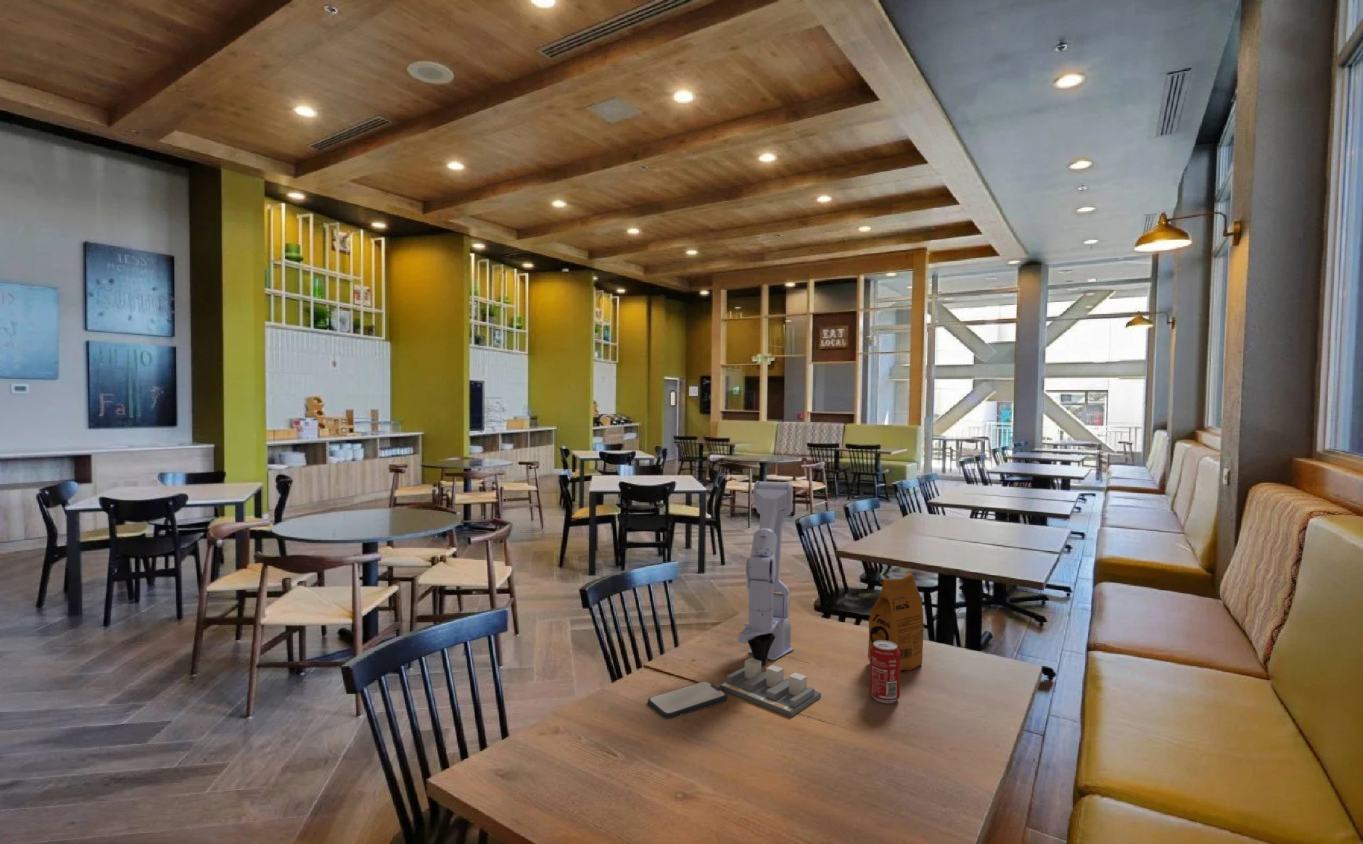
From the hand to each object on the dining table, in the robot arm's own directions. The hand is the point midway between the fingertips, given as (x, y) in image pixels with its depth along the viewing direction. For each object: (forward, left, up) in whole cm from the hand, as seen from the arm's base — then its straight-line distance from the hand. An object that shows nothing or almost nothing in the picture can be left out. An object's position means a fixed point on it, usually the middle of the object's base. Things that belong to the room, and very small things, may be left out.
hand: (760, 664), depth 152 cm
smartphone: (+20, -5, -4) cm, 21 cm away
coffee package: (-29, +20, -3) cm, 36 cm away
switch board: (+5, +6, -3) cm, 8 cm away
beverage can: (-10, +26, -3) cm, 28 cm away
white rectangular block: (+3, +6, -2) cm, 7 cm away
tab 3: (+3, +12, -2) cm, 13 cm away
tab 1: (+3, 0, -2) cm, 4 cm away
